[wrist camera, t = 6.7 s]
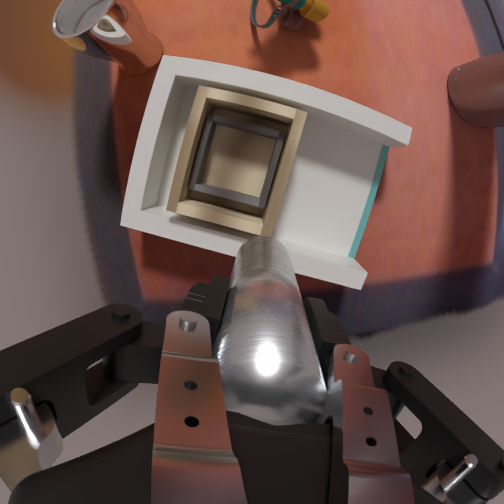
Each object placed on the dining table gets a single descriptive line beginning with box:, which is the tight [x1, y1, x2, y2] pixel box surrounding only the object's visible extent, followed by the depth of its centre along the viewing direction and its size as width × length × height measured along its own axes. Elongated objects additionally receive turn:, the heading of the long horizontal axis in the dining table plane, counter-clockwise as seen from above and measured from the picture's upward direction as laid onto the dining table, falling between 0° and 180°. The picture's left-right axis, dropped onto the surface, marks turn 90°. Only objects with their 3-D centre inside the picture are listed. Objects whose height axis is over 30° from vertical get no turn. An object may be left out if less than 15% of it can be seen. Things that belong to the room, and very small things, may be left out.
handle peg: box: [212, 236, 328, 426], centre depth 13 cm, size 3×3×12 cm
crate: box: [166, 85, 307, 237], centre depth 28 cm, size 10×12×6 cm
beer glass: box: [52, 0, 163, 75], centre depth 21 cm, size 7×7×15 cm
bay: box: [120, 55, 412, 290], centre depth 30 cm, size 26×18×6 cm
